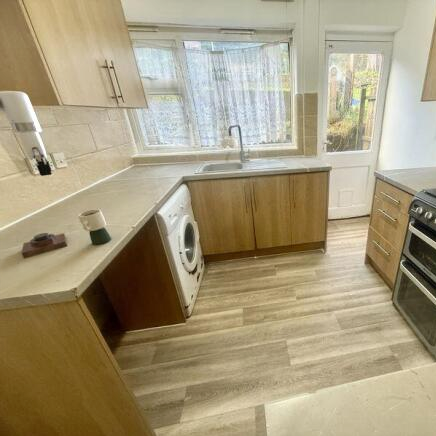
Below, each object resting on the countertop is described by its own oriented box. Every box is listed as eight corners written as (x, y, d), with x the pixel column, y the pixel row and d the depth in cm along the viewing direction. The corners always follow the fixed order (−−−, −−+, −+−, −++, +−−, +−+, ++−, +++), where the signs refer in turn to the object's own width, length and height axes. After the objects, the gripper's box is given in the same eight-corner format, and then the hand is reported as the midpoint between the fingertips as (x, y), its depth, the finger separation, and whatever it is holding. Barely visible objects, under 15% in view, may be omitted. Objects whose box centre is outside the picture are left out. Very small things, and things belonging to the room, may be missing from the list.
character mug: (99, 237, 102) (86, 208, 96) (118, 234, 103) (106, 206, 97) (84, 250, 92) (69, 219, 86) (105, 248, 93) (92, 217, 87)
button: (35, 242, 91) (33, 238, 90) (35, 239, 93) (33, 235, 93) (49, 239, 93) (47, 235, 92) (49, 235, 96) (48, 231, 95)
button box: (24, 258, 88) (18, 248, 86) (26, 248, 94) (21, 239, 93) (67, 246, 95) (63, 237, 93) (66, 237, 102) (62, 229, 100)
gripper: (15, 128, 95) (34, 171, 102) (10, 129, 83) (32, 178, 90) (41, 126, 99) (58, 168, 106) (40, 128, 88) (59, 175, 95)
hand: (46, 173), depth 98 cm, fingers open, 9 cm apart
